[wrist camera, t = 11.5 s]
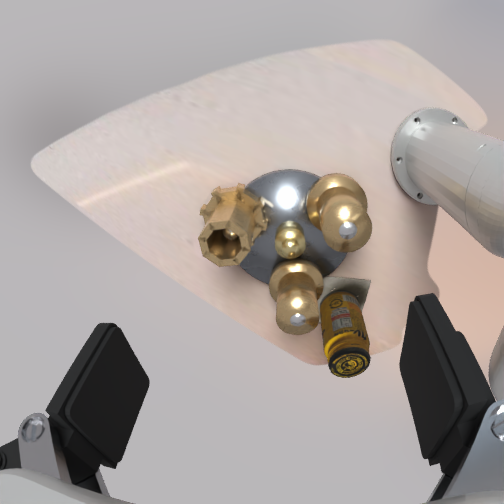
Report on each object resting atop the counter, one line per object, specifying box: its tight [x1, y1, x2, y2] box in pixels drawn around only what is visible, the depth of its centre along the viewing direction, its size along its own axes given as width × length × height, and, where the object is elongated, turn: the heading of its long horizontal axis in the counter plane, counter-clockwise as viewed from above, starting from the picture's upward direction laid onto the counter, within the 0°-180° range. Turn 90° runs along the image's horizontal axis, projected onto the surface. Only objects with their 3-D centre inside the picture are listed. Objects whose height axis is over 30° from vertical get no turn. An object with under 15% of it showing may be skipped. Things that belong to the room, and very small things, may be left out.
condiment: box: [317, 277, 371, 378], centre depth 40 cm, size 7×8×12 cm
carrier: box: [223, 169, 372, 335], centre depth 37 cm, size 18×19×9 cm
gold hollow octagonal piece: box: [198, 183, 268, 267], centre depth 35 cm, size 8×8×8 cm
